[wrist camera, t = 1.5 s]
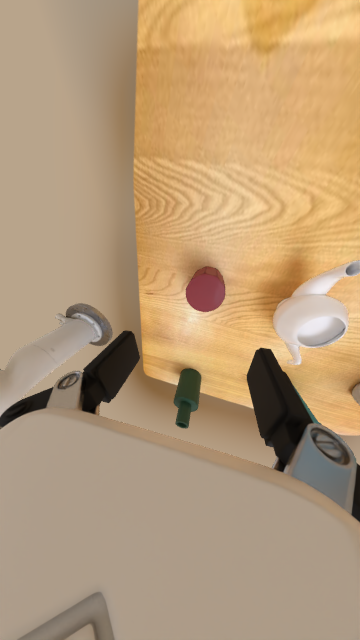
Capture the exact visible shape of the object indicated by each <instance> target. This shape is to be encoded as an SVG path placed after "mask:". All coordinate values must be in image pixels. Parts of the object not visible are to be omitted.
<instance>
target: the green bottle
mask: <svg viewBox="0 0 360 640" xmlns="http://www.w3.org/2000/svg"><path fill="white" fill-rule="evenodd" d="M200 385H201V375H200V373H199V372H197V371H196V370H194V369H184V370H183V371H182V372H181V375H180V379H179V383H178V387H177V390H176V394H175V398H174V404H175V405H176V406H177V407H178V408H179V409H178V414H177V419H176V425H177V426H179V427H181V428H188V426H189V419H190V413H191V412H193V411H196V410H197V409H198V404H199V394H200Z"/></svg>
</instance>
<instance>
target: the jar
mask: <svg viewBox="0 0 360 640" xmlns="http://www.w3.org/2000/svg"><path fill="white" fill-rule="evenodd" d="M352 396H353V398H354V400H355V401H356V402H357V403H358V404H359V405H360V384H357V385H356V386H355V387H354V389H353V390H352Z"/></svg>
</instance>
